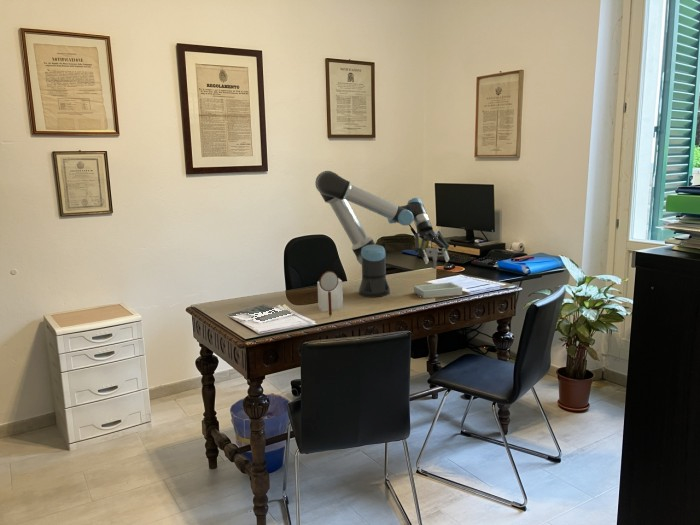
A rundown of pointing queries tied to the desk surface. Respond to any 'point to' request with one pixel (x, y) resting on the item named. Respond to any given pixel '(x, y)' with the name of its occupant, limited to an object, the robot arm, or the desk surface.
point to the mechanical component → (434, 254)
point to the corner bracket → (335, 297)
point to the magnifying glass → (328, 285)
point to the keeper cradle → (438, 290)
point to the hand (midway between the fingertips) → (437, 261)
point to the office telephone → (262, 309)
